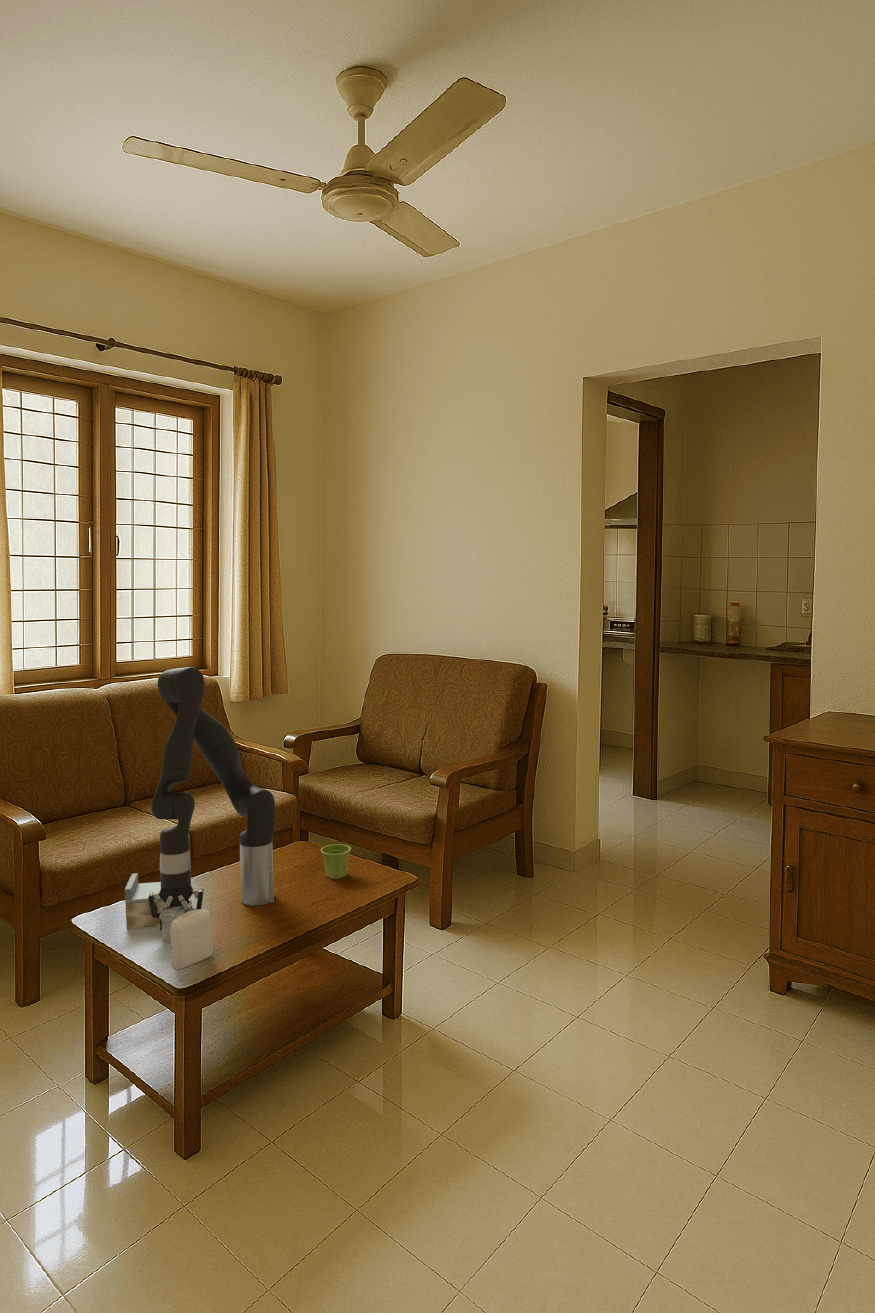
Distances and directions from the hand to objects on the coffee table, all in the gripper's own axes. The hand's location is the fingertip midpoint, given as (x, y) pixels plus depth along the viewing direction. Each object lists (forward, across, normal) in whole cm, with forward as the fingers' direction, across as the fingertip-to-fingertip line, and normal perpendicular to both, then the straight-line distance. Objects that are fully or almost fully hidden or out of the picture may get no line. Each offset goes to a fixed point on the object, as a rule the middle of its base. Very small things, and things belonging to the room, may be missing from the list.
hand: (177, 930), depth 213 cm
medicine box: (+2, 0, 0) cm, 2 cm away
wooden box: (+2, +7, -14) cm, 15 cm away
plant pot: (+2, -44, -36) cm, 57 cm away
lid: (-6, +7, -13) cm, 16 cm away
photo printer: (+2, -5, +15) cm, 16 cm away
